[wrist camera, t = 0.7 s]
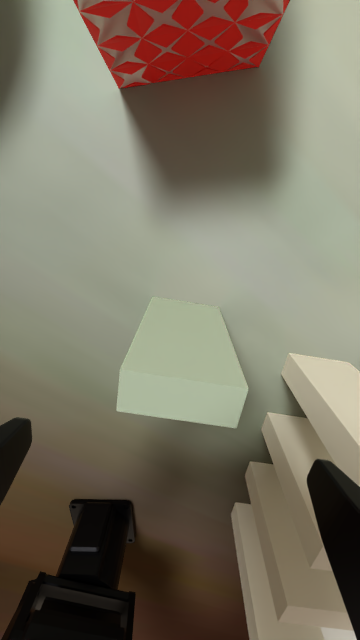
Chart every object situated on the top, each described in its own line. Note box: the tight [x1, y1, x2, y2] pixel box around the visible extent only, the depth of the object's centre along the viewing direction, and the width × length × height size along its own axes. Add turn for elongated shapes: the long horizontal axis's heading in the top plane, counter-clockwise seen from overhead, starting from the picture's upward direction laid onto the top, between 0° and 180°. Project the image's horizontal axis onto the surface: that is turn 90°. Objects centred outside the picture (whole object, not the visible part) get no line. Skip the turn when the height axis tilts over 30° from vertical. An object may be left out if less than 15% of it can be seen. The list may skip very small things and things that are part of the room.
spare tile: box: [116, 297, 248, 428], centre depth 15 cm, size 2×5×10 cm, turn 81°
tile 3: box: [261, 412, 336, 571], centre depth 18 cm, size 2×5×10 cm, turn 81°
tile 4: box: [281, 353, 360, 487], centre depth 16 cm, size 2×5×10 cm, turn 81°
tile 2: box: [245, 461, 354, 631], centre depth 21 cm, size 2×5×10 cm, turn 81°
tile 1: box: [231, 502, 324, 640], centre depth 23 cm, size 2×5×10 cm, turn 81°
